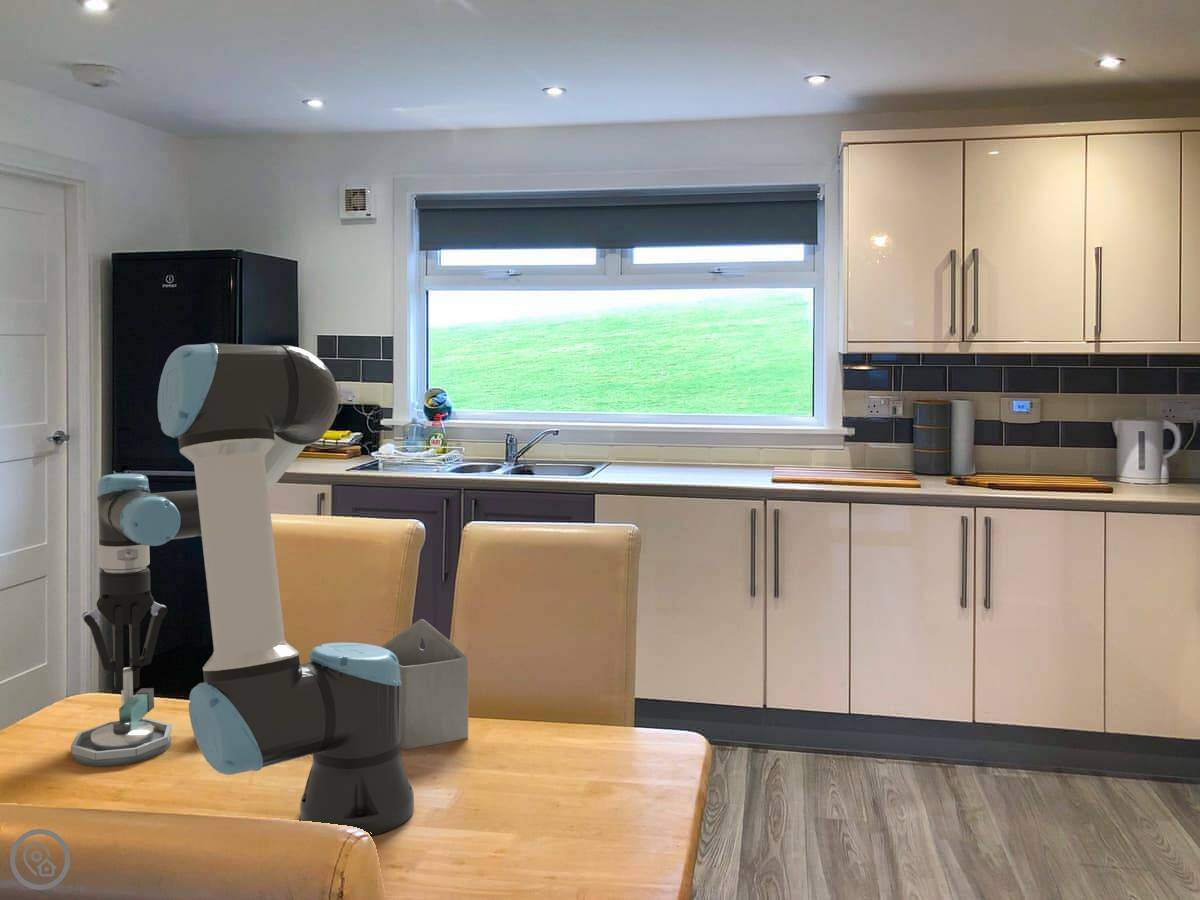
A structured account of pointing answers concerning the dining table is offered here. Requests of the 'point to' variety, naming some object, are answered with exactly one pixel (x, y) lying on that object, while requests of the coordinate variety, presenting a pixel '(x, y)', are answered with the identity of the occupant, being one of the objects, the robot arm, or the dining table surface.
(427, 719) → the planter
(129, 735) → the dial
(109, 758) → the housing
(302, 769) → the dining table surface
